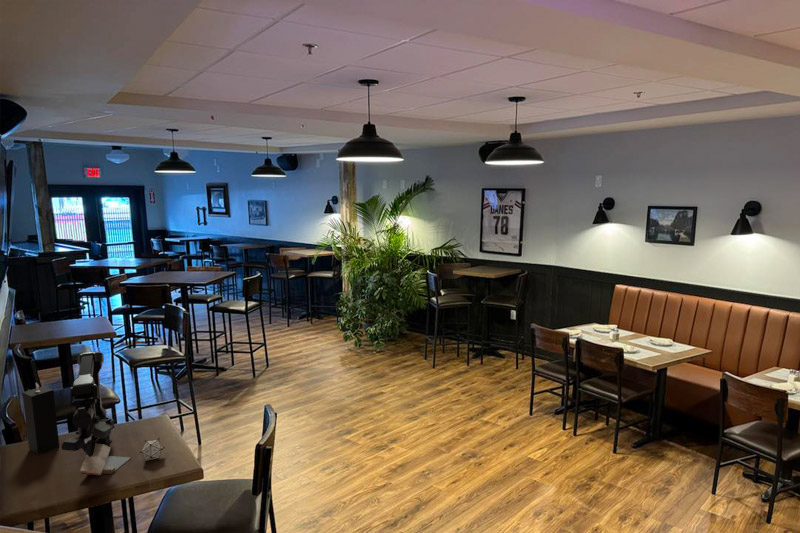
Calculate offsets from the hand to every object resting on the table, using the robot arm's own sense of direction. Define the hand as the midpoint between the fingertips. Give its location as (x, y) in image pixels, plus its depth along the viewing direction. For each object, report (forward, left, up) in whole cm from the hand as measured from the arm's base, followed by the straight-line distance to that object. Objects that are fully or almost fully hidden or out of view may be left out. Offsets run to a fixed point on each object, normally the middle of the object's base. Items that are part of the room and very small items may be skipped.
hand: (90, 456), depth 183 cm
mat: (0, +9, -8) cm, 12 cm away
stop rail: (0, +3, -8) cm, 8 cm away
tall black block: (-34, +16, -8) cm, 38 cm away
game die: (+15, +14, -8) cm, 22 cm away
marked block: (0, -1, -6) cm, 6 cm away
